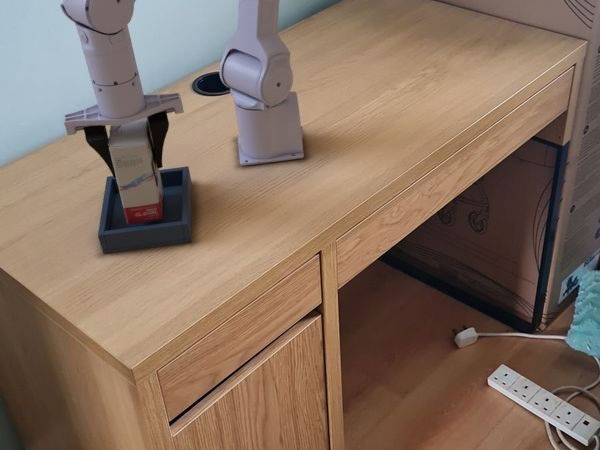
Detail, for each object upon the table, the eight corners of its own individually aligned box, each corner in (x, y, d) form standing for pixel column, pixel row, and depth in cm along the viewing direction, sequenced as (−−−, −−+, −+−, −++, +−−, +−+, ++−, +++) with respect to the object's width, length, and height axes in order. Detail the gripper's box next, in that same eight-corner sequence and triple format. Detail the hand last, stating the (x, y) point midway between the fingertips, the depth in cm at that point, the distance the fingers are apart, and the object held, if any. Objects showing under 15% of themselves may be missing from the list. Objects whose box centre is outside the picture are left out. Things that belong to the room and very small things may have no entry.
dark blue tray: (191, 183, 114) (188, 166, 112) (191, 242, 103) (187, 223, 101) (111, 194, 113) (106, 176, 112) (103, 253, 103) (97, 235, 101)
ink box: (163, 221, 104) (147, 143, 97) (126, 225, 103) (107, 148, 96) (163, 185, 111) (148, 111, 104) (128, 190, 110) (111, 115, 103)
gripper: (169, 50, 99) (188, 142, 108) (53, 72, 97) (81, 164, 105) (177, 74, 94) (195, 169, 102) (53, 98, 92) (83, 192, 100)
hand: (137, 168), depth 103 cm, fingers closed on ink box, 5 cm apart
